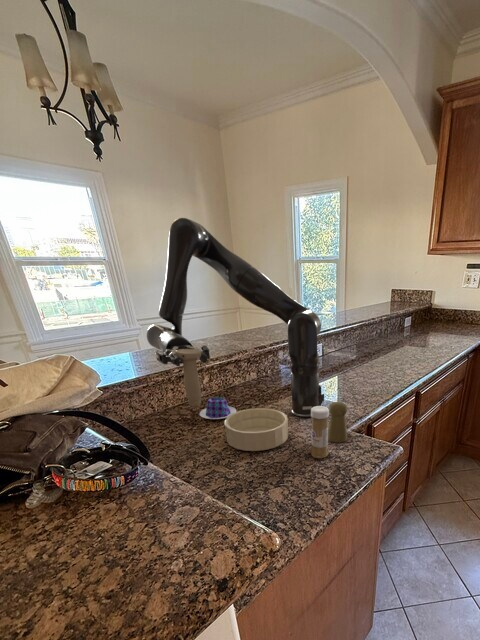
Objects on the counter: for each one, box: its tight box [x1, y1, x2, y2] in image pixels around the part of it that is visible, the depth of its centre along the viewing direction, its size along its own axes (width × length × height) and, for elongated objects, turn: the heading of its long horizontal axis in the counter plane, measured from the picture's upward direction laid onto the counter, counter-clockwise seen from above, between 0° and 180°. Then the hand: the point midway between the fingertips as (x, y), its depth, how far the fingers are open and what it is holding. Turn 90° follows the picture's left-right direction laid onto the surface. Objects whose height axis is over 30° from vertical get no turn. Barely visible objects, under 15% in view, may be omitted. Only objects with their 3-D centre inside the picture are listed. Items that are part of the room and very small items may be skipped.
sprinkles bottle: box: [310, 405, 330, 459], centre depth 92 cm, size 5×5×13 cm
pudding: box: [199, 396, 237, 420], centre depth 118 cm, size 12×12×5 cm
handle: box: [175, 349, 202, 408], centre depth 95 cm, size 5×6×15 cm
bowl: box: [224, 407, 289, 452], centre depth 102 cm, size 18×18×6 cm
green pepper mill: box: [328, 401, 348, 444], centre depth 102 cm, size 6×6×11 cm
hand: (191, 360), depth 91 cm, fingers closed on handle, 6 cm apart
